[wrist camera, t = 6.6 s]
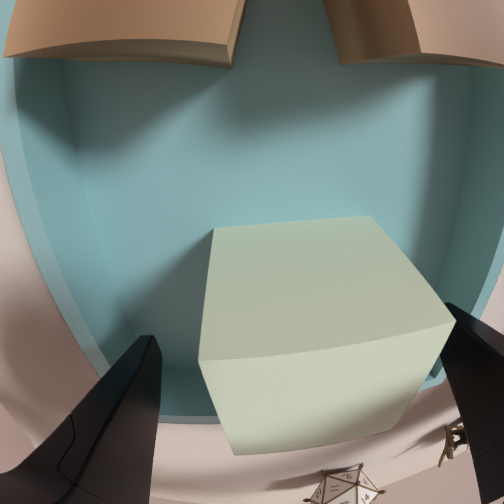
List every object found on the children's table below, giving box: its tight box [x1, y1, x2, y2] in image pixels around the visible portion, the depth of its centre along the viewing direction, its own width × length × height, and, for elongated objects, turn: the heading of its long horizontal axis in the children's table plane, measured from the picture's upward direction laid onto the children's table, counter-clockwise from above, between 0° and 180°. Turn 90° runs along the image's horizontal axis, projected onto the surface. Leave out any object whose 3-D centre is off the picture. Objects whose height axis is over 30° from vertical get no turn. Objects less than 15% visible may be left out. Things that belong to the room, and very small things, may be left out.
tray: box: [0, 0, 504, 424], centre depth 7 cm, size 15×19×3 cm
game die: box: [303, 463, 386, 504], centre depth 23 cm, size 9×8×10 cm
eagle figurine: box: [438, 425, 470, 467], centre depth 21 cm, size 8×7×9 cm
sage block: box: [198, 216, 456, 455], centre depth 8 cm, size 5×5×5 cm
